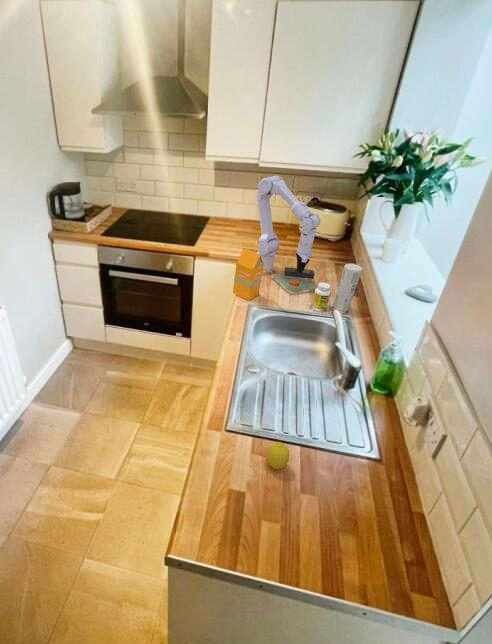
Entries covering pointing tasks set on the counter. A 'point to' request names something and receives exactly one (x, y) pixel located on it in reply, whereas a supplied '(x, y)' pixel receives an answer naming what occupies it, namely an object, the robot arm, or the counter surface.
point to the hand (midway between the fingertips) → (299, 270)
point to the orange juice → (248, 275)
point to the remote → (299, 273)
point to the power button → (294, 282)
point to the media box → (302, 285)
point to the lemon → (277, 455)
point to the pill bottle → (321, 296)
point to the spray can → (347, 287)
